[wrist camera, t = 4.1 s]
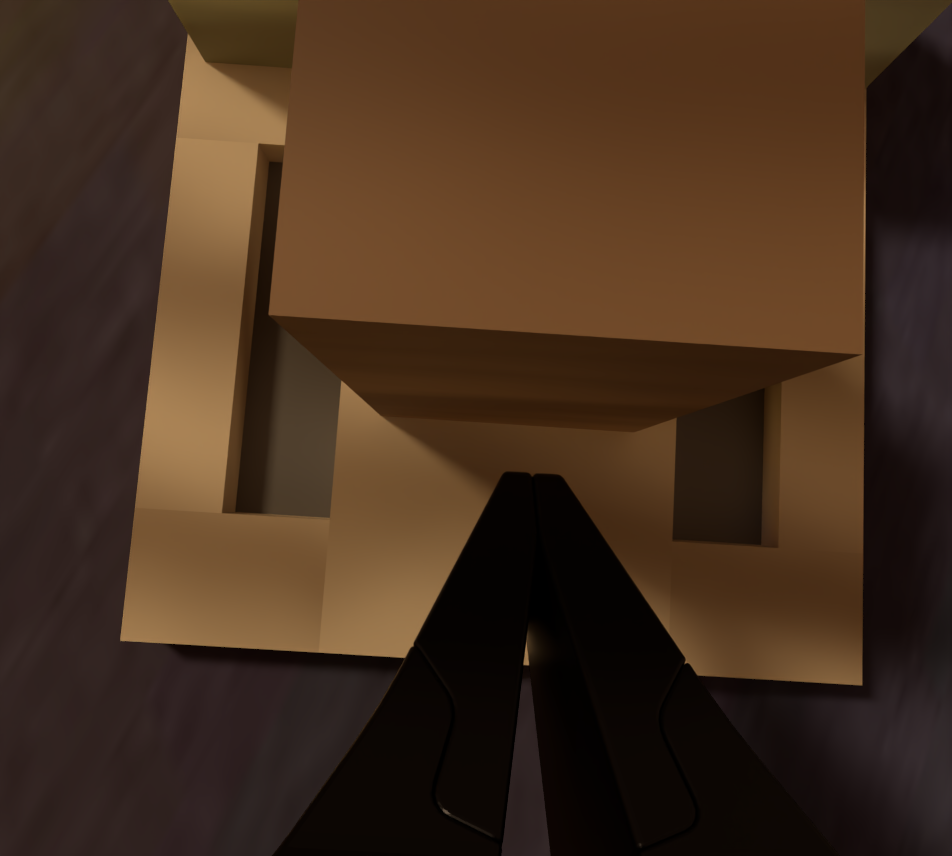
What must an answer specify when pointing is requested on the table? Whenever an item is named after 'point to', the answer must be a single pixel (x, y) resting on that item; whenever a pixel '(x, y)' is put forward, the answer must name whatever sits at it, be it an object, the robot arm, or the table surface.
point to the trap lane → (448, 440)
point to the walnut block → (572, 203)
